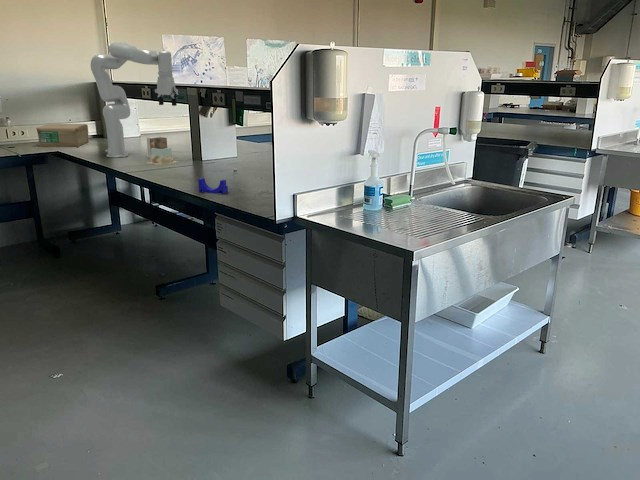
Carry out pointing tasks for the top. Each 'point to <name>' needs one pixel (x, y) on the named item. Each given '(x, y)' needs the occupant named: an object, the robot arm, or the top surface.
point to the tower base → (161, 159)
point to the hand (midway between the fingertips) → (167, 105)
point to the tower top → (161, 152)
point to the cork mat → (163, 164)
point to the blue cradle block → (205, 188)
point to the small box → (150, 145)
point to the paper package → (62, 135)
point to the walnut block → (160, 143)
